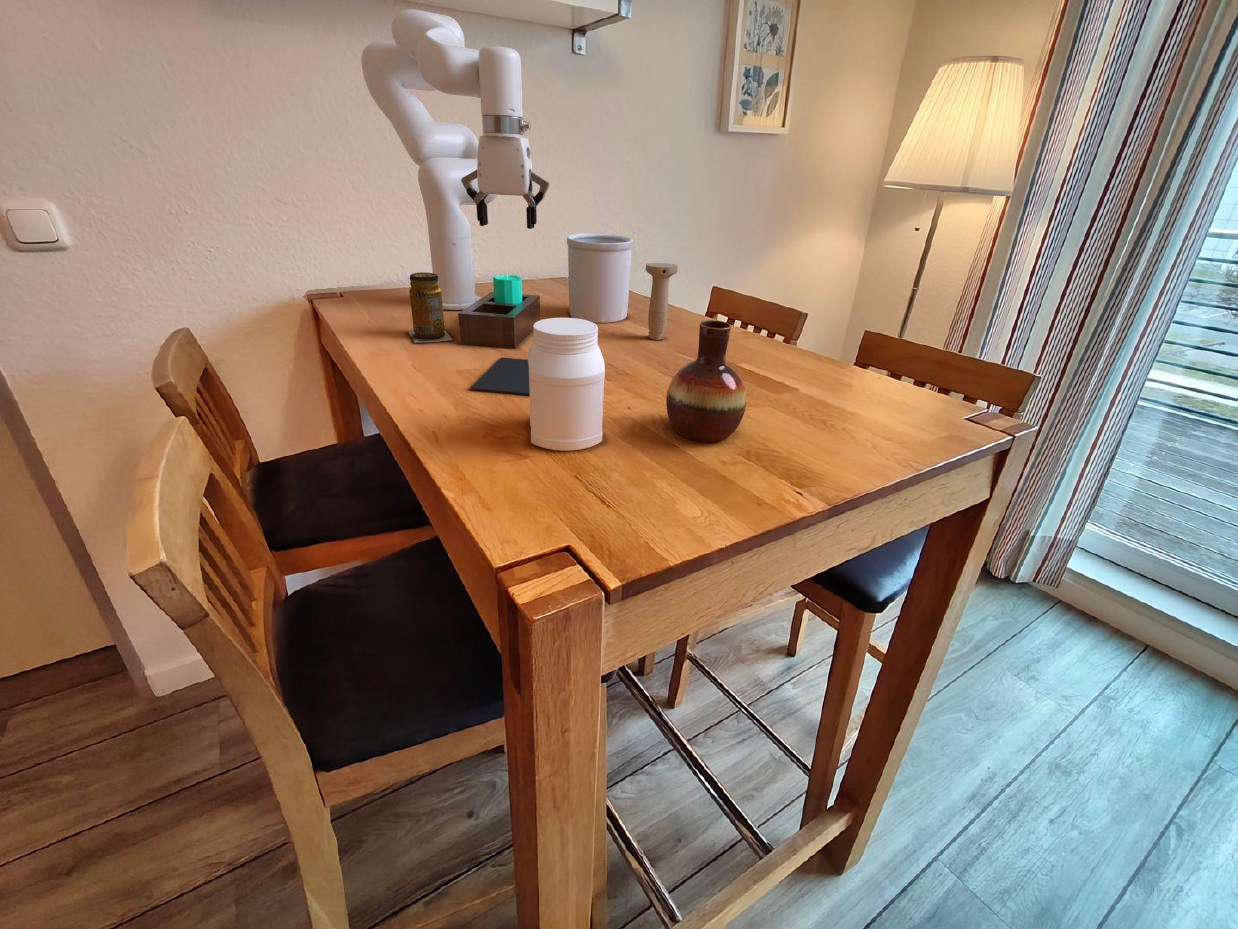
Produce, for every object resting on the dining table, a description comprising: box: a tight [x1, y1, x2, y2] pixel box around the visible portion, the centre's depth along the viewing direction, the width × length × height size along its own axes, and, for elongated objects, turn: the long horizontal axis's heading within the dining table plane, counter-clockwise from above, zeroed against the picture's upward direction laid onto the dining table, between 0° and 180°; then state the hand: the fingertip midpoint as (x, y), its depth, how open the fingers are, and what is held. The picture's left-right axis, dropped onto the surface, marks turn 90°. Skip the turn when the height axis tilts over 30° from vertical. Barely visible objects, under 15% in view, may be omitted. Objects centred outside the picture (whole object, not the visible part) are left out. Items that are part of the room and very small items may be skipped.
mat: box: [470, 357, 530, 397], centre depth 100 cm, size 18×16×1 cm
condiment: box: [407, 272, 453, 344], centre depth 115 cm, size 7×8×12 cm
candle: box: [492, 273, 523, 304], centre depth 124 cm, size 6×6×12 cm
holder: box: [457, 291, 541, 349], centre depth 122 cm, size 11×20×6 cm, turn 173°
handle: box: [645, 262, 679, 341], centre depth 121 cm, size 5×6×15 cm
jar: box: [527, 317, 606, 452], centre depth 78 cm, size 12×10×15 cm
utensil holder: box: [566, 232, 634, 324], centre depth 135 cm, size 15×15×18 cm
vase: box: [665, 319, 747, 443], centre depth 80 cm, size 11×11×15 cm
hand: (507, 226), depth 117 cm, fingers open, 9 cm apart
